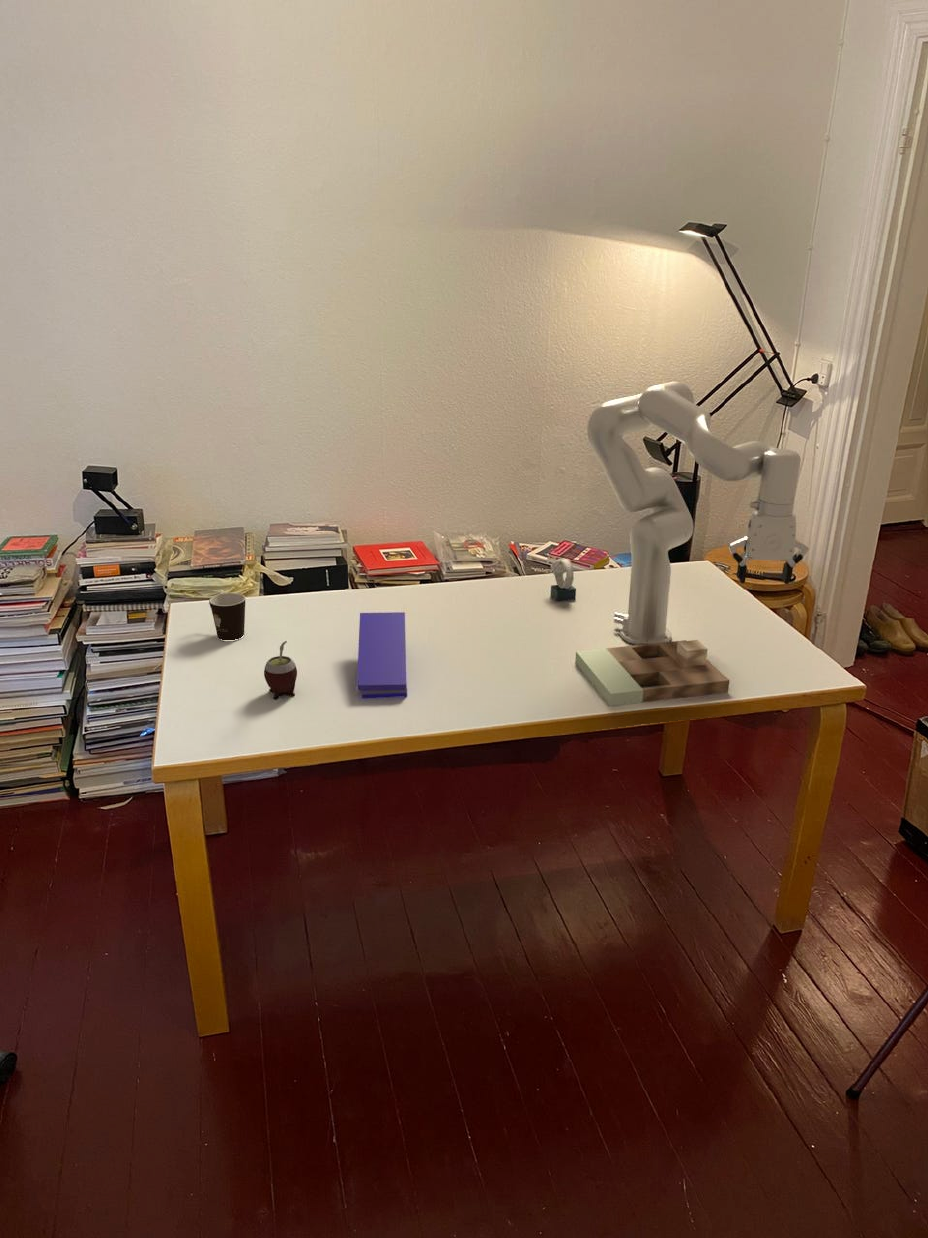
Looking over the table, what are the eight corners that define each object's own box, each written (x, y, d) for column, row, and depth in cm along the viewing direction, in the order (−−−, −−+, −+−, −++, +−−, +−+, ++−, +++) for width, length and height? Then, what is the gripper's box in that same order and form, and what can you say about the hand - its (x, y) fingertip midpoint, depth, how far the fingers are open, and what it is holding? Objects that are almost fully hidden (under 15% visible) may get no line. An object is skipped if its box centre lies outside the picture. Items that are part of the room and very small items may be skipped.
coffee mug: (251, 640, 246) (248, 603, 242) (216, 645, 243) (212, 607, 239) (243, 623, 256) (239, 586, 252) (208, 627, 253) (205, 591, 249)
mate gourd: (276, 684, 224) (272, 622, 218) (307, 690, 222) (303, 628, 216) (258, 698, 218) (253, 635, 212) (290, 705, 215) (285, 641, 209)
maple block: (685, 666, 227) (687, 650, 225) (676, 657, 231) (677, 641, 230) (705, 664, 228) (707, 648, 226) (695, 655, 232) (697, 639, 231)
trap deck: (642, 702, 217) (643, 690, 216) (605, 659, 237) (605, 648, 236) (728, 692, 222) (729, 680, 221) (684, 651, 242) (685, 640, 240)
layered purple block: (405, 645, 244) (404, 608, 241) (410, 699, 219) (409, 658, 215) (358, 647, 243) (356, 610, 240) (357, 701, 218) (355, 660, 214)
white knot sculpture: (565, 591, 277) (567, 554, 273) (578, 601, 270) (580, 563, 266) (547, 593, 276) (548, 556, 271) (559, 604, 269) (561, 565, 264)
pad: (609, 706, 216) (610, 693, 214) (575, 662, 235) (575, 651, 234) (642, 702, 217) (643, 690, 216) (605, 659, 237) (605, 648, 236)
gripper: (738, 512, 211) (728, 587, 218) (820, 513, 211) (807, 588, 218) (730, 501, 218) (720, 574, 225) (809, 503, 218) (796, 576, 225)
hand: (763, 581), depth 222 cm, fingers open, 9 cm apart
